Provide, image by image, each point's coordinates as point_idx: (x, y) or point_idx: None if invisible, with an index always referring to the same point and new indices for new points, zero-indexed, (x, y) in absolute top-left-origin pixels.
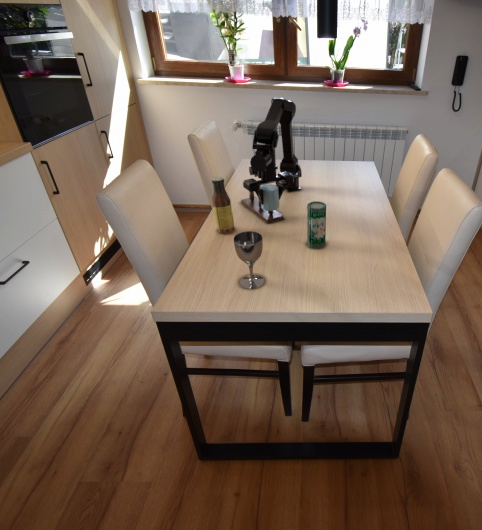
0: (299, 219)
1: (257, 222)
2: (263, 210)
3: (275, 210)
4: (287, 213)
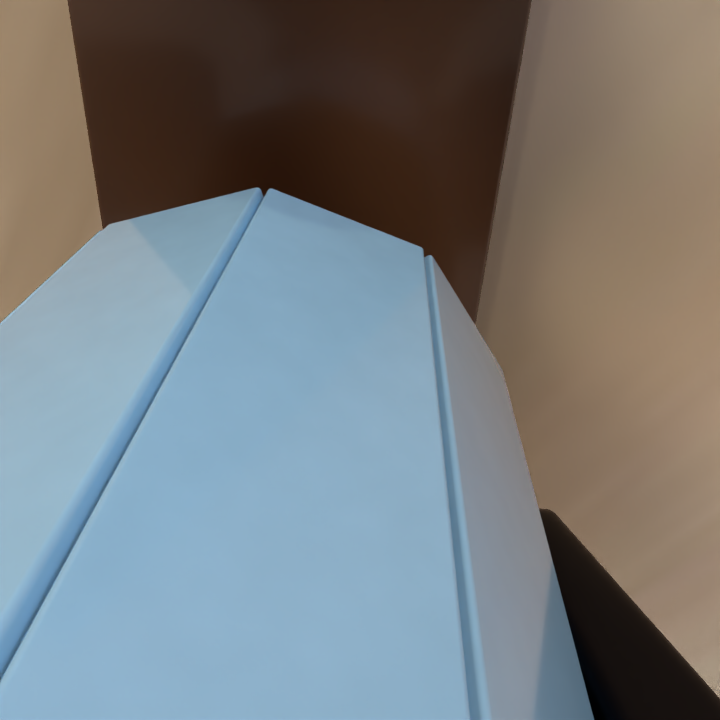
0: (621, 547)
1: (16, 285)
2: (255, 34)
3: (488, 214)
4: (662, 304)
